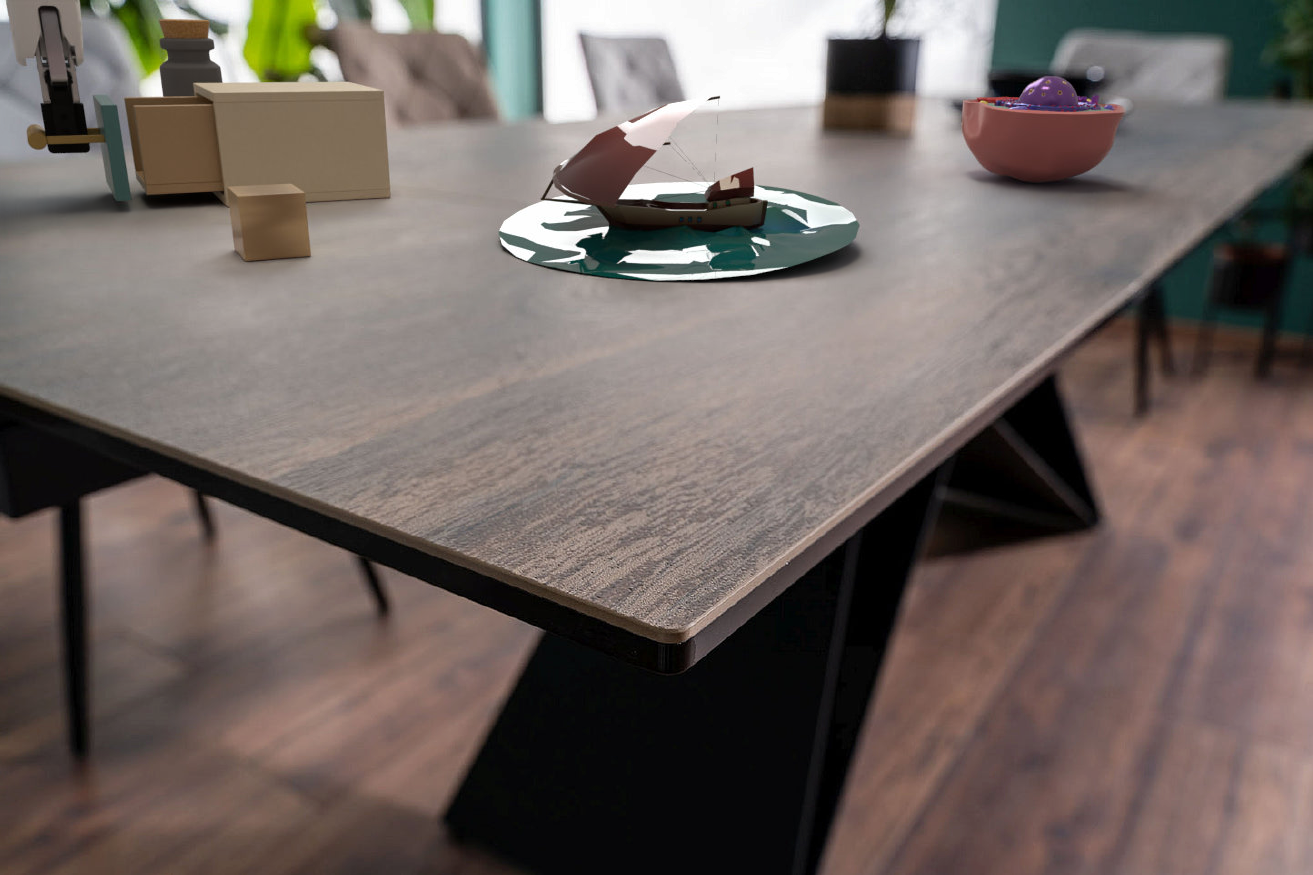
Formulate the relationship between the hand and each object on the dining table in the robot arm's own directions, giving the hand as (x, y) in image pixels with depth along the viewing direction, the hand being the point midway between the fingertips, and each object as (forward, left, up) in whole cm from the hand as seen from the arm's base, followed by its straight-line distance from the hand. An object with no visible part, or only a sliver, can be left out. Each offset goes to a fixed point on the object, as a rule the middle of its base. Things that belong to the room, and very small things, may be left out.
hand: (69, 151), depth 93 cm
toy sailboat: (+53, -8, -5) cm, 54 cm away
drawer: (+6, +4, -4) cm, 8 cm away
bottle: (+2, +21, -5) cm, 21 cm away
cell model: (+92, +34, -5) cm, 98 cm away
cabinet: (+16, +10, -5) cm, 19 cm away
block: (+24, -17, -5) cm, 30 cm away
